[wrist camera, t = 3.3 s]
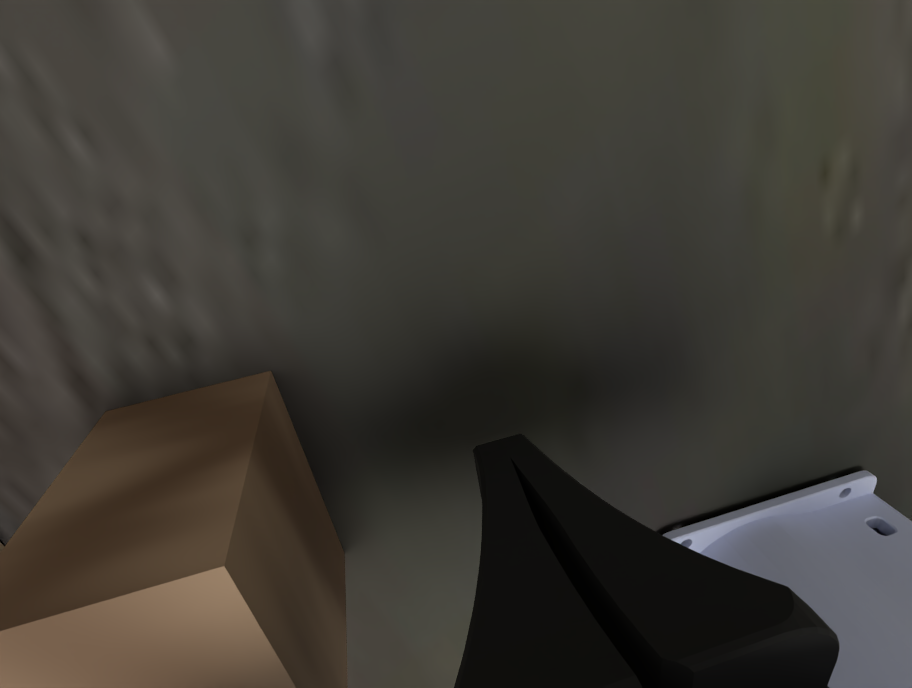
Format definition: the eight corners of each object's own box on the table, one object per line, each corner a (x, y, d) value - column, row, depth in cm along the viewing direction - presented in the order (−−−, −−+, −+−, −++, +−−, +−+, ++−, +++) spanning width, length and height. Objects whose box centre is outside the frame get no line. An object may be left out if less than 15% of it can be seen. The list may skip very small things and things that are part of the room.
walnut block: (271, 369, 12) (224, 565, 7) (344, 551, 16) (349, 778, 10) (106, 409, 12) (-75, 652, 7) (218, 589, 15) (155, 846, 10)
